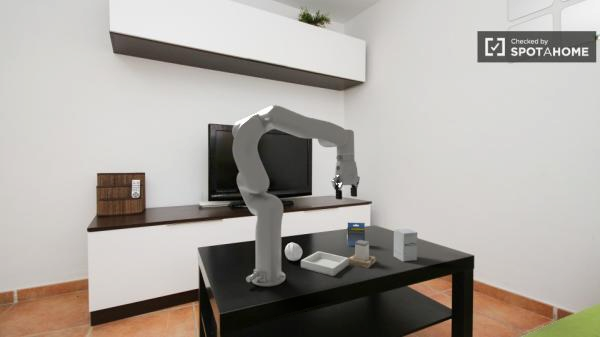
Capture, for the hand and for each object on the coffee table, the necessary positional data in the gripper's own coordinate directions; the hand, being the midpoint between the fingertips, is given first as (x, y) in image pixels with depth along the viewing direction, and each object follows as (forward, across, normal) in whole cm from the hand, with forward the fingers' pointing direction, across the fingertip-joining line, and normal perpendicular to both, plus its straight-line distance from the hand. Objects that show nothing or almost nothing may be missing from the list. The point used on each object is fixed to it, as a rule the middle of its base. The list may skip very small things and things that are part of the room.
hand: (346, 197), depth 119 cm
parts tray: (+28, -12, +2) cm, 30 cm away
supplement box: (+29, +22, -14) cm, 39 cm away
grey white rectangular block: (+28, +3, -5) cm, 29 cm away
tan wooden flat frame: (+28, +3, -5) cm, 29 cm away
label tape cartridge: (+29, +20, +12) cm, 37 cm away
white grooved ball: (+27, -18, +16) cm, 37 cm away
